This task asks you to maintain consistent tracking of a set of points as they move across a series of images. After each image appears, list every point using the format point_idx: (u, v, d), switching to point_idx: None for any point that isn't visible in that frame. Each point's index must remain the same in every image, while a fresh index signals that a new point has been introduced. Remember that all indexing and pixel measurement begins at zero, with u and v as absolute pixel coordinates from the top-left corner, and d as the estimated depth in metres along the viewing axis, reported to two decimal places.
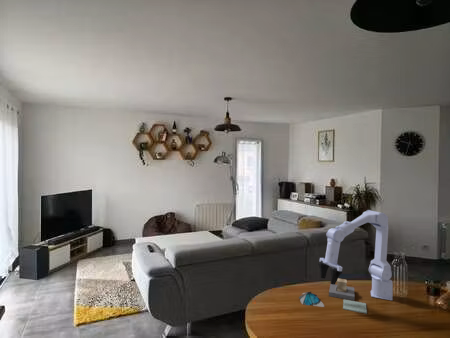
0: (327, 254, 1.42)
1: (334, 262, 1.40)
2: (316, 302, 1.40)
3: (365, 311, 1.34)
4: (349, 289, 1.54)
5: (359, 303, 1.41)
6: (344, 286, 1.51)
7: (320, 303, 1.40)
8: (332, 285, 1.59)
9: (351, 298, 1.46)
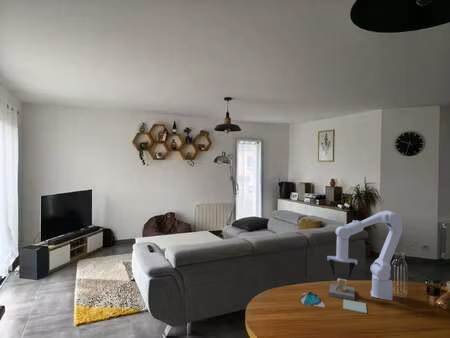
0: (342, 252, 1.50)
1: (347, 257, 1.52)
2: (316, 302, 1.40)
3: (365, 311, 1.34)
4: (349, 289, 1.54)
5: (359, 303, 1.41)
6: (344, 286, 1.51)
7: (321, 303, 1.39)
8: (332, 285, 1.59)
9: (351, 298, 1.46)
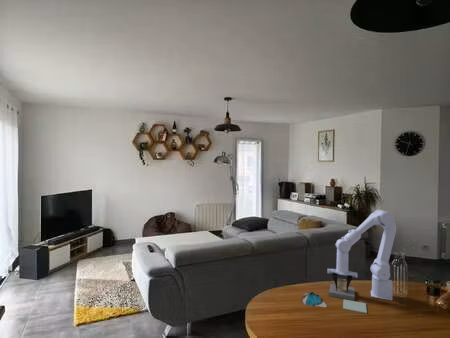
0: (342, 265, 1.51)
1: None
2: (318, 302, 1.40)
3: (365, 311, 1.34)
4: (349, 289, 1.54)
5: (359, 303, 1.41)
6: (344, 286, 1.51)
7: (322, 303, 1.39)
8: (332, 285, 1.59)
9: (351, 298, 1.46)
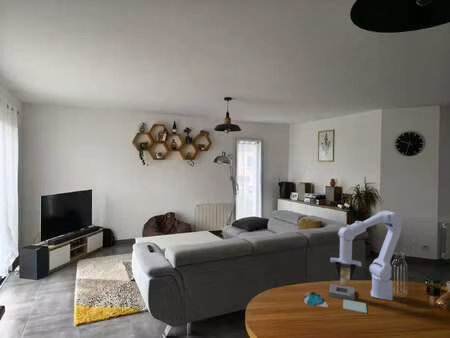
0: (346, 254, 1.47)
1: (351, 259, 1.48)
2: (319, 302, 1.40)
3: (365, 311, 1.34)
4: (349, 289, 1.54)
5: (359, 303, 1.41)
6: (347, 275, 1.47)
7: (324, 303, 1.39)
8: (332, 285, 1.59)
9: (351, 298, 1.46)
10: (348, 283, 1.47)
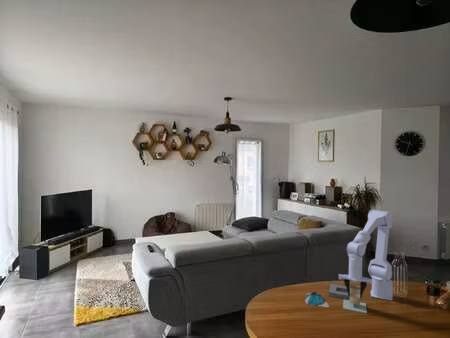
0: (356, 271, 1.36)
1: (361, 276, 1.38)
2: (320, 302, 1.40)
3: (365, 311, 1.34)
4: None
5: None
6: (357, 294, 1.37)
7: (325, 303, 1.39)
8: (332, 285, 1.59)
9: None
10: (358, 302, 1.37)
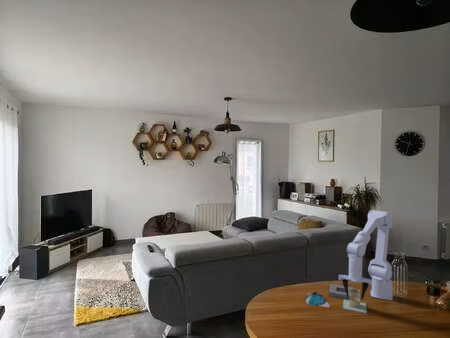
0: (355, 272, 1.36)
1: (361, 277, 1.38)
2: (321, 302, 1.40)
3: (365, 311, 1.34)
4: (349, 289, 1.54)
5: None
6: (357, 297, 1.37)
7: (326, 303, 1.39)
8: (332, 285, 1.59)
9: None
10: (358, 306, 1.37)
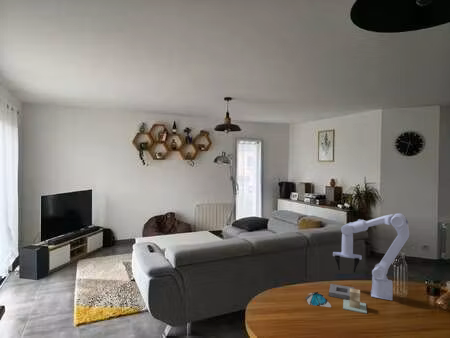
0: (347, 248, 1.58)
1: (352, 253, 1.60)
2: (322, 302, 1.40)
3: (365, 311, 1.34)
4: (349, 289, 1.54)
5: None
6: (357, 297, 1.37)
7: (327, 303, 1.39)
8: (332, 285, 1.59)
9: None
10: (358, 306, 1.37)
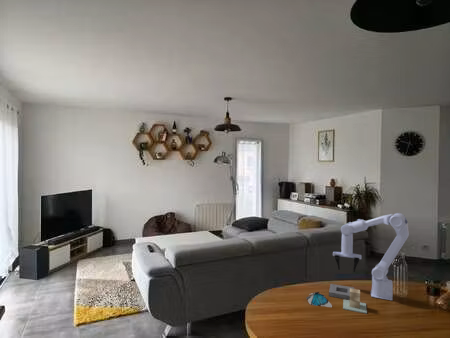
0: (347, 248, 1.59)
1: (352, 253, 1.60)
2: (323, 302, 1.40)
3: (365, 311, 1.34)
4: (349, 289, 1.54)
5: None
6: (357, 297, 1.37)
7: (328, 303, 1.39)
8: (332, 285, 1.59)
9: None
10: (358, 306, 1.37)
